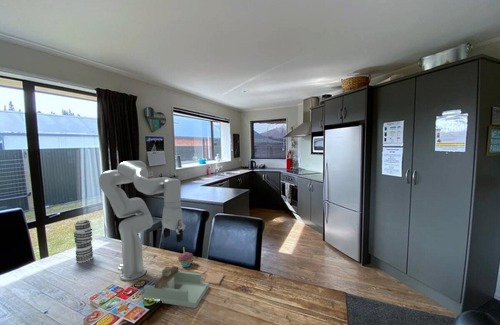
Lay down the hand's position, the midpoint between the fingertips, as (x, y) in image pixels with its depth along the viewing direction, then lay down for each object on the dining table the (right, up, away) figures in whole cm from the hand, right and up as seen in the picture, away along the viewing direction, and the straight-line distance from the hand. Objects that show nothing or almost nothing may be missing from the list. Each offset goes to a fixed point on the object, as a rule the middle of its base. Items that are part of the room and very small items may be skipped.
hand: (173, 239), depth 101 cm
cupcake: (-1, -24, +22) cm, 33 cm away
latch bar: (-2, -18, -2) cm, 18 cm away
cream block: (-2, -25, -2) cm, 25 cm away
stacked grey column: (-67, -25, +31) cm, 78 cm away
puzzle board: (+3, -25, -3) cm, 25 cm away
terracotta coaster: (+19, -24, +8) cm, 32 cm away
